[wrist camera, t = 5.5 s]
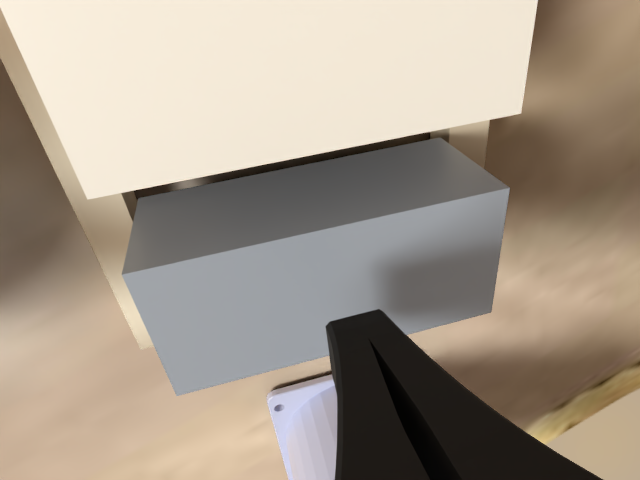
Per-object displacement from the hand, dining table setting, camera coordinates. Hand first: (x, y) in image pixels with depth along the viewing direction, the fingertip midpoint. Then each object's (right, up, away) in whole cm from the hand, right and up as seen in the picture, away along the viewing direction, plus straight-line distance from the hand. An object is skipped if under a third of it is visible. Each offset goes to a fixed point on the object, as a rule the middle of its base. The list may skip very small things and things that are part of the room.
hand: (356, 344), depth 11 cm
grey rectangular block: (-1, +3, +5) cm, 6 cm away
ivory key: (-2, +8, +1) cm, 9 cm away
